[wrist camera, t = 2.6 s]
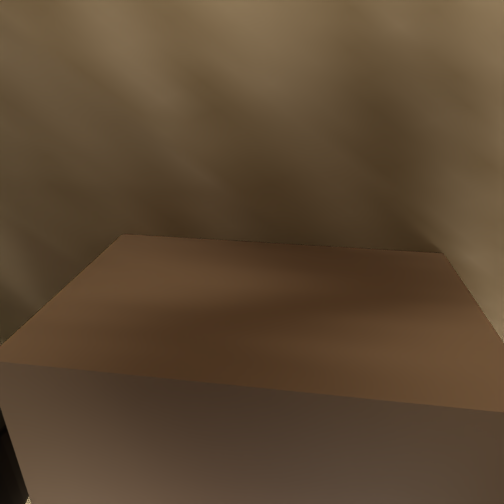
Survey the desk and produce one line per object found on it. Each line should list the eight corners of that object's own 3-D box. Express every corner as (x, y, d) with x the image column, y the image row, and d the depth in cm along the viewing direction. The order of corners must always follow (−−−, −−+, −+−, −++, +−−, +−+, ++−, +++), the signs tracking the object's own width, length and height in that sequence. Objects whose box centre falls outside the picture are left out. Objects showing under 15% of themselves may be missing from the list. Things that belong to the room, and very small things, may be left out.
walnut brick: (440, 248, 8) (553, 417, 4) (391, 473, 10) (434, 701, 7) (126, 229, 8) (-16, 360, 5) (153, 444, 11) (74, 636, 7)
